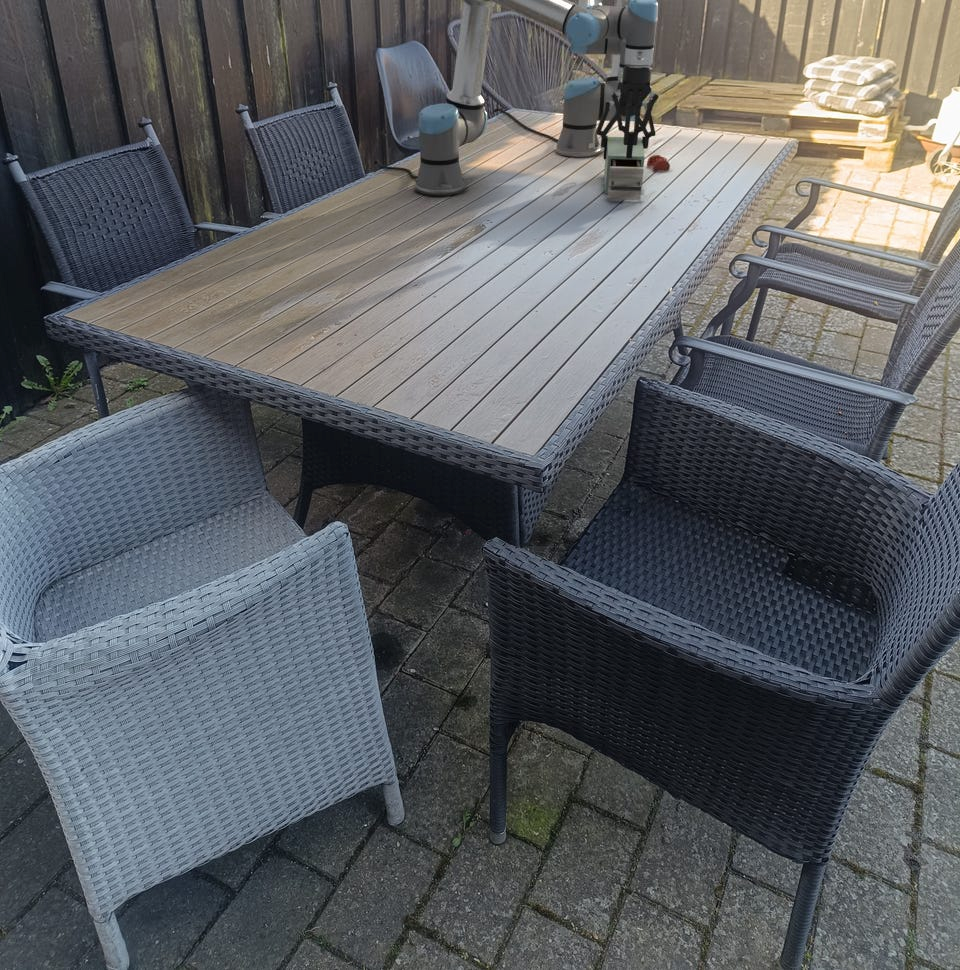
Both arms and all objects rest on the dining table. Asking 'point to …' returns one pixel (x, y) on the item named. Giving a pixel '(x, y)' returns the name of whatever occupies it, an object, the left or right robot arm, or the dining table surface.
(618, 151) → the cabinet
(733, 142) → the dining table surface
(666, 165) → the red-brown rounded lump
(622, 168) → the drawer
